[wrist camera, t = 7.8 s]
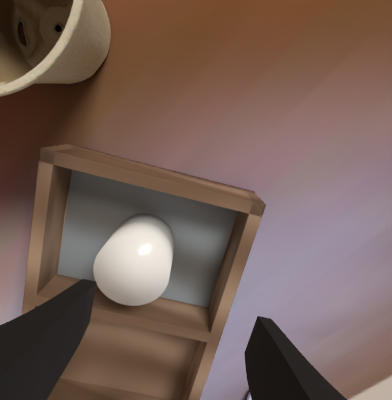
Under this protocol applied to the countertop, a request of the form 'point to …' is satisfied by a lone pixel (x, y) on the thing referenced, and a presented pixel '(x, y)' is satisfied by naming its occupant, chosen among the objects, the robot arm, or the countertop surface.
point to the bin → (178, 281)
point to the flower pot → (51, 42)
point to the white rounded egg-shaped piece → (136, 260)
